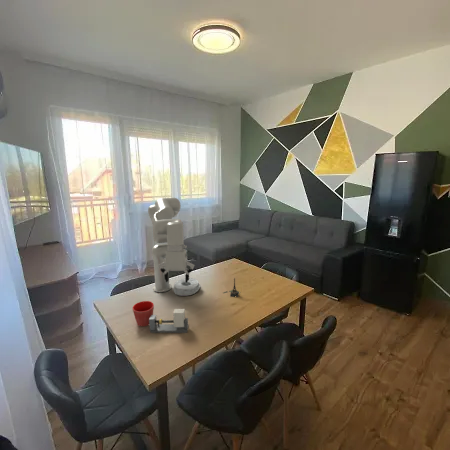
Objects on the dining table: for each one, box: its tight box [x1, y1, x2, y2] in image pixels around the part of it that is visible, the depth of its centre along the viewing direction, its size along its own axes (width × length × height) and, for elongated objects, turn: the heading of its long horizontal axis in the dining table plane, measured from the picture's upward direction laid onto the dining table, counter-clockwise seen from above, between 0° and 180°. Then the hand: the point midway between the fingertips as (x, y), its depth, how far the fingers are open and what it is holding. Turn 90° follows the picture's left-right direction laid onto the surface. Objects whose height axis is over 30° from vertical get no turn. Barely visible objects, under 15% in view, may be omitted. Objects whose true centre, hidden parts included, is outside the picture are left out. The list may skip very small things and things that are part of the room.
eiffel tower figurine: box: [222, 277, 240, 298], centre depth 161 cm, size 15×10×13 cm
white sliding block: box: [172, 308, 186, 327], centre depth 125 cm, size 5×4×8 cm
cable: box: [173, 277, 201, 297], centre depth 167 cm, size 18×18×6 cm
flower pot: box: [132, 300, 155, 327], centre depth 131 cm, size 11×11×10 cm
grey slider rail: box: [148, 314, 190, 334], centre depth 126 cm, size 19×6×7 cm, turn 90°
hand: (177, 281), depth 121 cm, fingers open, 9 cm apart
